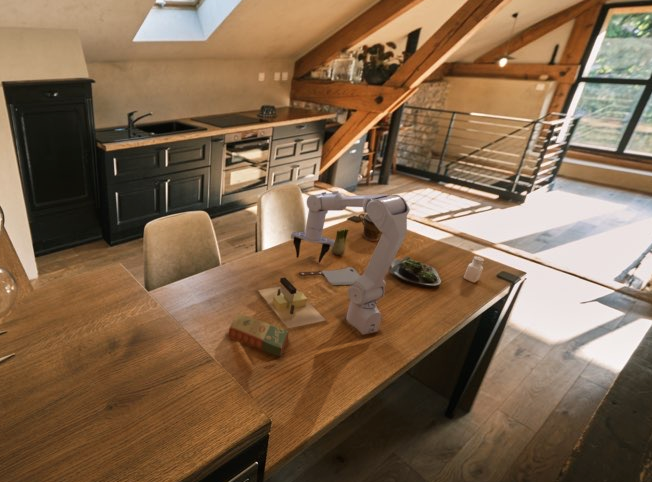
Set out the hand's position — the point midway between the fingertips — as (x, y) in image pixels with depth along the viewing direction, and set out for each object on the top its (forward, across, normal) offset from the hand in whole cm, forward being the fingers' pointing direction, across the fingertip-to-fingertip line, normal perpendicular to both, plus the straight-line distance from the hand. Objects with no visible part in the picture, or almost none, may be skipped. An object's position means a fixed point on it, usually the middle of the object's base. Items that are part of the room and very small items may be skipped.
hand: (308, 258), depth 140 cm
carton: (+10, +10, +37) cm, 40 cm away
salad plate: (+10, -39, -23) cm, 47 cm away
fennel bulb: (+10, -11, -27) cm, 31 cm away
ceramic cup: (+10, -24, -51) cm, 57 cm away
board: (+10, +3, +17) cm, 20 cm away
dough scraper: (+6, +5, +18) cm, 20 cm away
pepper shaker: (+10, -60, -30) cm, 67 cm away
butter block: (+9, +2, +16) cm, 19 cm away
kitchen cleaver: (+10, -9, -7) cm, 16 cm away
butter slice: (+9, +6, +20) cm, 23 cm away
